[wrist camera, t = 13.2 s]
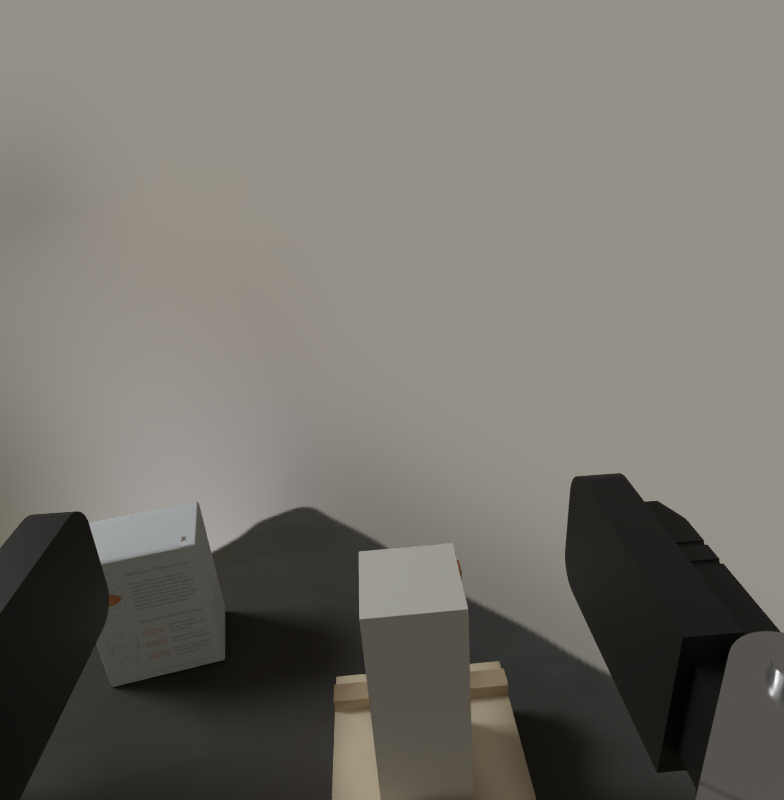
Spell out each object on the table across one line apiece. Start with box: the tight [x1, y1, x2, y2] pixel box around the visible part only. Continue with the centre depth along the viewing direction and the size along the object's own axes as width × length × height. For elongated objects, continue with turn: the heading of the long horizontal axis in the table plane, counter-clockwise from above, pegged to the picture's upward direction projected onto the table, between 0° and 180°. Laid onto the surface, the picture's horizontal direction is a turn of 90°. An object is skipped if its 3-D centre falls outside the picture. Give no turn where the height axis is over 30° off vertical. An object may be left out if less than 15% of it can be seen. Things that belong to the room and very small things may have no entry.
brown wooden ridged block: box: [332, 661, 536, 800], centre depth 33 cm, size 10×12×5 cm
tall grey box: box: [359, 543, 473, 800], centre depth 30 cm, size 5×4×12 cm
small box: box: [89, 502, 225, 687], centre depth 45 cm, size 8×6×10 cm
